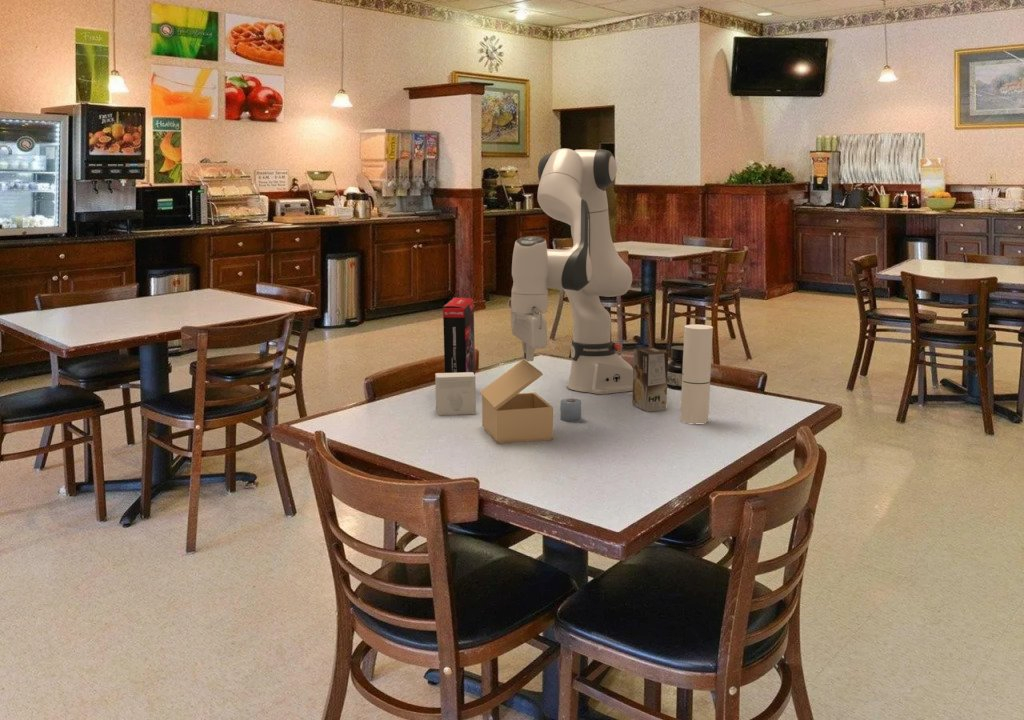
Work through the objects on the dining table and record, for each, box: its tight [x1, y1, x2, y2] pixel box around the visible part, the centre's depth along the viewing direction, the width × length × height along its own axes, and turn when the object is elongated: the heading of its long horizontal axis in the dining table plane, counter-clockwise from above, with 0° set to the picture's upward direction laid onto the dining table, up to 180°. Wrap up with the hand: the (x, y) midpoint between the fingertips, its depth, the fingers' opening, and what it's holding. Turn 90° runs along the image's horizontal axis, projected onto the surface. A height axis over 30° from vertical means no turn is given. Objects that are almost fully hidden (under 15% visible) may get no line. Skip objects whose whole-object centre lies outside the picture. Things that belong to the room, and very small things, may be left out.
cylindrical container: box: [679, 323, 714, 425], centre depth 242 cm, size 7×7×25 cm
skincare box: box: [434, 372, 477, 416], centre depth 251 cm, size 10×6×10 cm, turn 98°
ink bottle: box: [667, 345, 684, 390], centre depth 282 cm, size 10×9×12 cm
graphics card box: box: [442, 297, 476, 376], centre depth 269 cm, size 17×7×27 cm, turn 174°
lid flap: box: [479, 358, 544, 410], centre depth 230 cm, size 14×16×1 cm
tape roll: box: [559, 397, 582, 423], centre depth 245 cm, size 5×5×5 cm
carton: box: [481, 391, 554, 444], centre depth 232 cm, size 14×16×8 cm
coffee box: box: [631, 346, 669, 413], centre depth 257 cm, size 9×6×16 cm
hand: (528, 360), depth 230 cm, fingers closed
